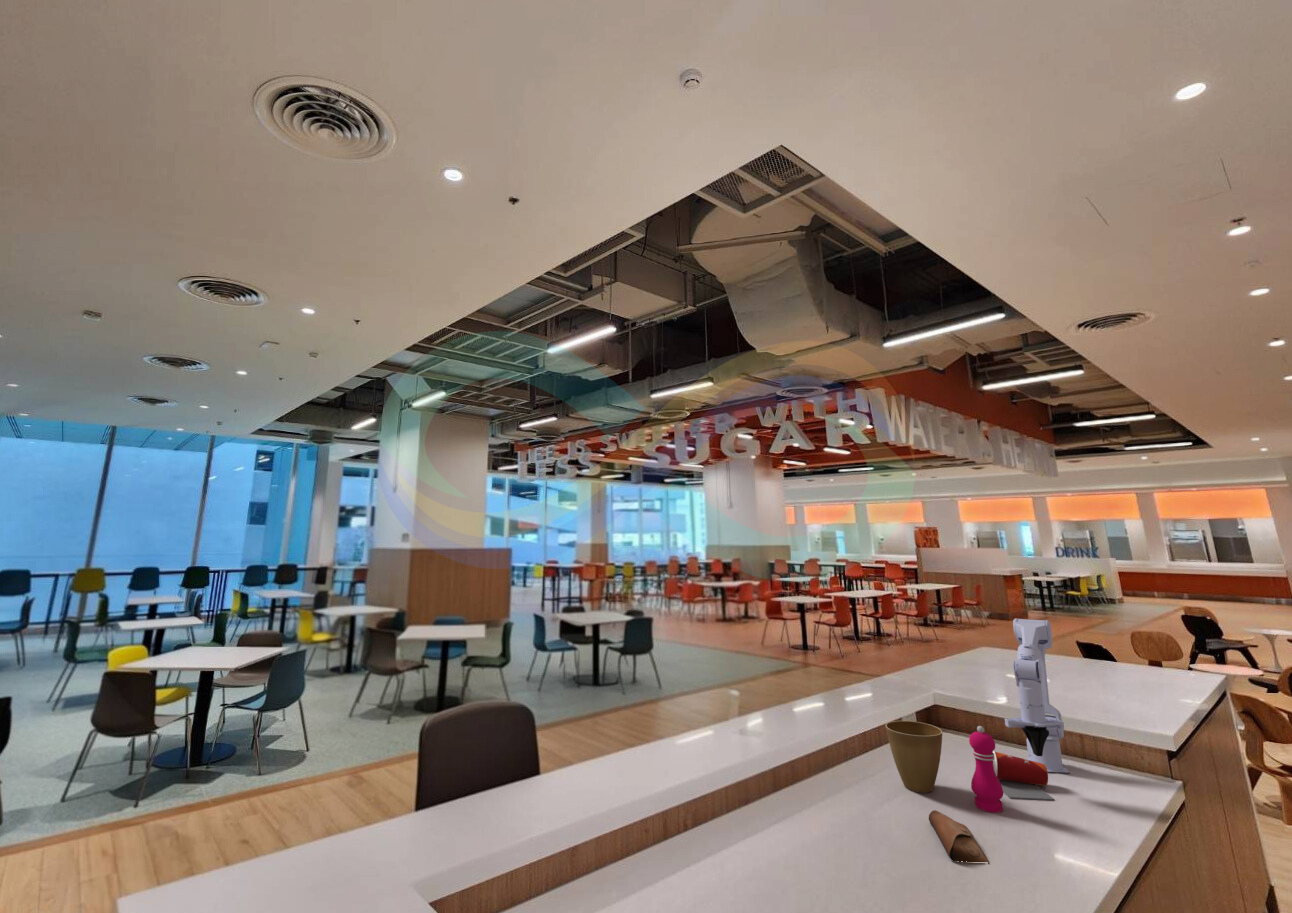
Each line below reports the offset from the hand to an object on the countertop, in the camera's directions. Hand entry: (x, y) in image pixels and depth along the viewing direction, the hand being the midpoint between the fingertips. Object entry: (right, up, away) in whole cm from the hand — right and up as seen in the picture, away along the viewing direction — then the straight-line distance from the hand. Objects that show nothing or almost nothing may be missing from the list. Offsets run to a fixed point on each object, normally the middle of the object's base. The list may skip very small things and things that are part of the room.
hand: (1037, 754), depth 156 cm
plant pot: (-33, -11, +2) cm, 34 cm away
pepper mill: (-20, -8, -11) cm, 24 cm away
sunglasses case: (-38, -6, -28) cm, 48 cm away
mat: (-5, -10, +1) cm, 11 cm away
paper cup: (+3, -7, +2) cm, 8 cm away
